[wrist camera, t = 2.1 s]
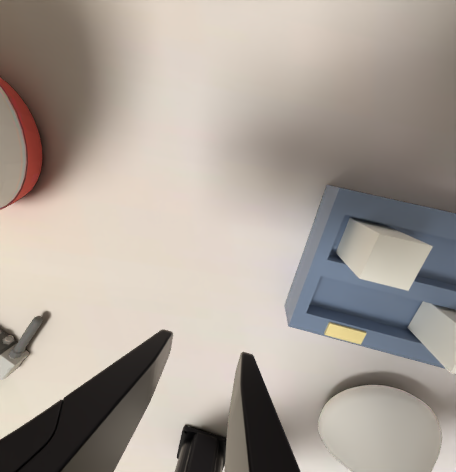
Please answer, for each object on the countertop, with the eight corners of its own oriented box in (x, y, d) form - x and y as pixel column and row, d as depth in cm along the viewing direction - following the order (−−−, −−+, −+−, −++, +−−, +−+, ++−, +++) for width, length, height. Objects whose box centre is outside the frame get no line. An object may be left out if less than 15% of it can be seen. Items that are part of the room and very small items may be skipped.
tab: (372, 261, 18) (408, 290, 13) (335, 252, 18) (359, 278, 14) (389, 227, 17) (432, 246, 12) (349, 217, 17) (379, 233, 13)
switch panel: (451, 349, 20) (485, 380, 17) (284, 305, 22) (288, 327, 19) (534, 230, 17) (595, 244, 14) (326, 184, 18) (340, 187, 15)
